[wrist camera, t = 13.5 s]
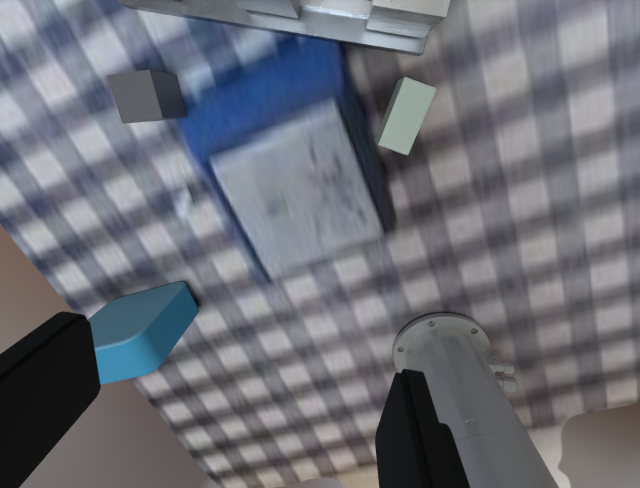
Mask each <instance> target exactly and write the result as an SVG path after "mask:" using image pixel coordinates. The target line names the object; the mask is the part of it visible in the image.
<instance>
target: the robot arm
mask: <svg viewBox="0 0 640 488" xmlns="http://www.w3.org/2000/svg"><path fill="white" fill-rule="evenodd" d="M393 360H394V364H395V368H396V369H397V371H398V373H396V374H395V376H394V379H393V382H392V385H391V388H390V391H389V395H388V398H387V401H386V404H385V407H384V410H383V413H382V416H381V419H380V422H379V425H378V428H377V432H376V438H375V446H376V457H377V467H378V478H379V488H559V487H558V485H557V484H556V482H555V480H554V479H553V477H552V475H551V473H550V472H549V470H548V468H547V466H546V465H545V463H544V461H543V459H542V458H541V456H540V454H539V452H538V451H537V449H536V447H535V445H534V444H533V442H532V440H531V438H530V437H529V435H528V433H527V431H526V429H525V428H524V426H523V424H522V422H521V421H520V419H519V417H518V415H517V414H516V412H515V410H514V408H513V407H512V405H511V403H510V401H509V399H508V398H507V396H506V394H505V392H509V393H515V392H516V391H517V388H518V386H517V381H516V379H515V378H513V377H507V376H501V375H498V376H497V375H494V374H495V372H501V373H504V374H510V375H513V374H514V371H515V369H514V365H513V364H512V363H506V362H497V361H495V359H493V358H492V356H491V345H490V341H489V339H488V337H487V335H486V334H485V332H484V331H483V329H482V328H481V327H480V326H479V325H478V324H477V323H476V322H474V321H473V320H471V319H469V318H467V317H465V316H462V315H459V314H453V313H436V314H430V315H427V316H424V317H421V318H419V319H417V320H415V321H413V322H411V323H410V324H409V325H407V326H406V327H405V328H404V329H403V330H402V331H401V332H400V333H399V335H398V336H397V338H396V340H395V343H394V345H393ZM100 387H101V384H100V378H99V372H98V366H97V360H96V354H95V348H94V342H93V336H92V330H91V324H90V322H89V321H87V319H86V317H85V316H84V315H82V314H76V313H70V312H64V311H63V312H60V313H57V314H56V315H54V316H53V317H52V318H50V319H49V320H47V321H46V322H45V323H43V324H42V325H40V326H39V327H38V328H36V329H35V330H33V331H32V332H31V333H29V334H28V335H27V336H25V337H24V338H22V339H21V340H20V341H18V342H17V343H15V344H14V345H13V346H11V347H10V348H8V349H7V350H6V351H4V352H3V353H1V354H0V488H19V487H20V486H21V484H22V483H23V482H24V481H25V480H26V479H27V478H28V477H29V475H30V474H31V473H32V472H33V471H34V469H35V468H36V467H37V466H38V465H39V464H40V462H41V461H42V460H43V459H44V458H45V457H46V455H47V454H48V453H49V452H50V451H51V450H52V448H53V447H54V446H55V445H56V444H57V443H58V441H59V440H60V439H61V438H62V437H63V435H64V434H65V433H66V432H67V431H68V430H69V429H70V427H71V426H72V425H73V424H74V423H75V422H76V420H77V419H78V418H79V417H80V416H81V414H82V413H83V412H84V411H85V410H86V409H87V408H88V406H89V405H90V404H91V403H92V402H93V401H94V399H95V398H96V397H97V395H98V393H99V391H100Z"/></svg>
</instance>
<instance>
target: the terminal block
mask: <svg viewBox="0 0 640 488" xmlns="http://www.w3.org/2000/svg"><path fill="white" fill-rule="evenodd" d="M436 90H437V89H436V88H434V87H431V86H428V85H426V84H423V83H420V82H418V81H415V80H412V79H410V78H407V77H403V78H402V79H400V80H398V82H397V84H396V87H395V89H394V92H393V95H392V97H391V100H390V102H389V105H388V107H387V110H386V113H385V115H384V118H383V120H382V123H381V126H380V128H379V131H378V133H377V136H376V138H375V142H376V143H377V144H378V145H380V146H383V147H386V148H389V149H391V150H394V151H397V152H400V153H402V154H405V155H408V154H409V152H410V149H411V147H412V145H413V142H414V140H415V138H416V136H417V133H418V131H419V129H420V126H421V124H422V122H423V119H424V117H425V115H426V113H427V110H428V108H429V106H430V103H431V101H432V99H433V96H434V94H435V92H436Z"/></svg>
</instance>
